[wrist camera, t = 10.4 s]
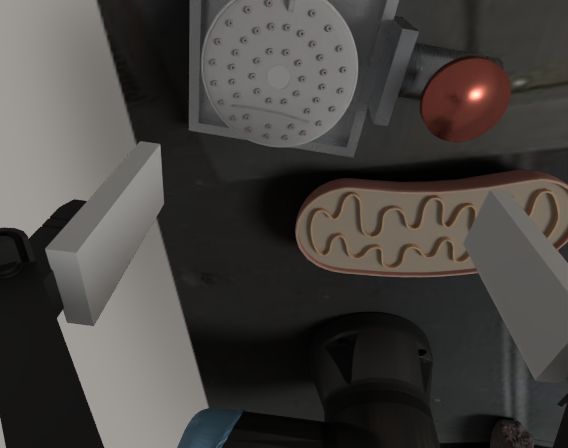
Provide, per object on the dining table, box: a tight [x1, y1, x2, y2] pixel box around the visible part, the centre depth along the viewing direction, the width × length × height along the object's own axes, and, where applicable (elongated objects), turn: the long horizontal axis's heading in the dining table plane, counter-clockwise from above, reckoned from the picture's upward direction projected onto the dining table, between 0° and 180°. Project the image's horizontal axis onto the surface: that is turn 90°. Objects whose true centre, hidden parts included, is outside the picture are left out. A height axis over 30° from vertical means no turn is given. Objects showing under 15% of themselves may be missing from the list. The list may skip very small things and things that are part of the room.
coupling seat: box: [189, 0, 511, 158], centre depth 26 cm, size 22×14×7 cm
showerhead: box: [201, 0, 358, 147], centre depth 25 cm, size 9×7×10 cm
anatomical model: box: [295, 169, 568, 277], centre depth 34 cm, size 23×10×5 cm, turn 95°
